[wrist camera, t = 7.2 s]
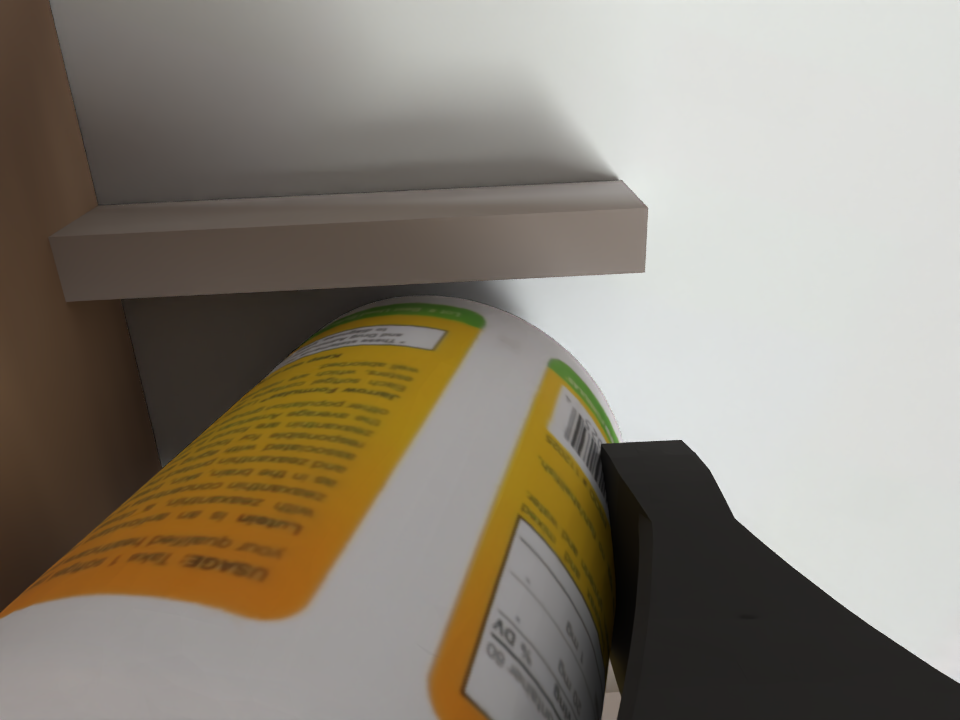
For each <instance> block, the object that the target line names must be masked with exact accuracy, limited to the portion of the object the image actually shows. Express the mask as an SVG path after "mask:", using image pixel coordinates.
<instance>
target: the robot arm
mask: <svg viewBox="0 0 960 720" xmlns="http://www.w3.org/2000/svg"><path fill="white" fill-rule="evenodd" d="M600 457H601V463H602V469H603V475H604V482H605V489H606V496H607V503H608V511H609V519H610V527H611V537H612V546H613V556H614V567H615V578H616V610H615V618H614V626H613V634H612V642H611V650H610V662H611V665H612V669H613V672H614V675H615V679H616V682H617V685H618V689H619V692H620V695H621V701H620V706H619V711H618V716H617V720H960V684H959V683H958V682H956V681H954V680H953V679H951V678H950V677H948V676H946V675H945V674H943V673H941V672H940V671H938V670H937V669H935V668H934V667H932V666H931V665H929V664H927V663H926V662H924V661H923V660H921V659H920V658H918V657H917V656H915V655H914V654H912V653H911V652H909V651H908V650H906V649H905V648H903V647H902V646H900V645H899V644H897V643H896V642H894V641H893V640H891V639H890V638H888V637H887V636H885V635H884V634H882V633H881V632H879V631H878V630H876V629H875V628H873V627H872V626H870V625H869V624H868V623H866V622H865V621H863V620H862V619H861V618H859V617H858V616H856V615H855V614H854V613H852V612H851V611H849V610H848V609H846V608H845V607H844V606H842V605H841V604H840V603H838V602H837V601H836V600H834V599H833V598H832V597H831V596H829V595H828V594H827V593H825V592H824V591H823V590H821V589H820V588H819V587H818V586H816V585H815V584H814V583H812V582H811V581H810V580H808V579H807V578H806V577H805V576H803V575H802V574H801V573H799V572H798V571H797V570H795V569H794V568H793V567H792V566H790V565H789V564H788V563H787V562H786V561H784V560H783V559H782V558H781V557H779V556H778V555H777V554H776V553H775V552H773V551H772V550H771V549H770V548H768V547H767V546H766V545H765V544H764V543H763V542H761V541H760V540H759V539H758V538H757V537H755V536H754V535H753V534H752V533H751V532H750V531H749V530H747V529H746V528H745V527H744V526H743V525H742V524H740V523H739V522H738V521H737V520H736V519H735V518H734V516H733V514H732V512H731V510H730V508H729V506H728V504H727V502H726V500H725V498H724V496H723V494H722V492H721V491H720V489H719V487H718V485H717V483H716V481H715V479H714V477H713V475H712V474H711V472H710V470H709V469H708V468H707V466H706V465H705V464H704V463H703V462H702V460H701V459H700V458H699V457H698V456H697V454H696V453H695V452H693V451H692V450H691V449H690V448H689V447H688V446H687V445H686V444H685V443H684V442H683V441H682V440H671V441H649V442H627V443H605V444H601V451H600Z"/></svg>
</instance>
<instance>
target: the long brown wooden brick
mask: <svg viewBox="0 0 960 720" xmlns="http://www.w3.org/2000/svg"><path fill="white" fill-rule="evenodd" d="M647 220H648V207H647V206H646V205H645V204H644V203H643V202H642V201H641V200H640V199H639V198H638V197H637V196H636V195H635V193H634V192H633V191H632V190H631V189H630V188H629V187H628V186H627V185H626V184H625V183H624V182H623V181H622V180H618V181H597V182H576V183H556V184H535V185H514V186H493V187H472V188H451V189H430V190H410V191H389V192H368V193H347V194H326V195H305V196H284V197H264V198H243V199H222V200H201V201H180V202H159V203H138V204H118V205H98V202H97V198H96V194H95V190H94V186H93V182H92V177H91V173H90V169H89V165H88V161H87V157H86V153H85V148H84V144H83V140H82V136H81V132H80V128H79V124H78V119H77V115H76V111H75V107H74V103H73V99H72V95H71V90H70V86H69V82H68V78H67V74H66V70H65V66H64V61H63V57H62V53H61V49H60V45H59V41H58V37H57V32H56V28H55V24H54V20H53V16H52V12H51V8H50V3H49V0H0V613H1V612H2V611H3V610H4V609H5V608H6V607H7V606H8V605H9V604H10V603H12V602H13V601H14V600H15V599H16V598H17V597H18V596H19V595H20V594H21V593H23V592H24V591H25V590H26V589H27V588H28V587H29V586H30V585H31V584H33V583H34V582H35V581H36V580H37V579H38V578H39V577H40V576H42V575H43V574H44V573H45V572H46V571H47V570H48V569H49V568H51V567H52V566H53V565H54V564H55V563H56V562H57V561H59V560H60V559H61V558H62V557H63V556H64V555H65V554H67V553H68V552H69V551H70V550H71V549H72V548H73V547H74V546H76V545H77V544H78V543H79V542H80V541H81V540H82V539H84V538H85V537H86V536H87V535H88V534H89V533H90V532H92V531H93V530H94V529H95V528H96V527H97V526H98V525H99V524H101V523H102V522H103V521H104V520H105V519H106V518H107V517H108V516H109V515H111V514H112V513H113V512H114V511H115V510H116V509H117V508H119V507H120V506H121V505H122V504H123V503H124V502H125V501H127V500H128V499H129V498H130V497H131V496H132V495H133V494H134V493H136V492H137V491H138V490H139V489H140V488H141V487H142V486H143V485H145V484H146V483H147V482H148V481H149V480H150V479H151V478H152V477H154V476H155V475H156V474H157V473H158V472H159V471H160V470H161V469H162V468H161V463H160V459H159V455H158V451H157V447H156V443H155V439H154V434H153V430H152V426H151V422H150V418H149V414H148V410H147V405H146V401H145V397H144V393H143V389H142V385H141V381H140V376H139V372H138V368H137V364H136V360H135V356H134V352H133V347H132V343H131V339H130V335H129V331H128V327H127V323H126V318H125V314H124V310H123V306H122V302H121V299H131V298H151V297H170V296H190V295H210V294H229V293H249V292H269V291H289V290H308V289H328V288H348V287H367V286H387V285H407V284H426V283H446V282H466V281H486V280H505V279H525V278H545V277H564V276H584V275H604V274H623V273H643V272H645V259H646V239H647ZM620 701H621V695H620V692H619V689H618V685H617V682H616V679H615V675H614V672H613V669H612V665H611V662H610V658H609V666H608V674H607V682H606V689H605V697H604V705H603V712H602V719H601V720H617V716H618V711H619V706H620Z"/></svg>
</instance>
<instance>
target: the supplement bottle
mask: <svg viewBox="0 0 960 720" xmlns="http://www.w3.org/2000/svg"><path fill="white" fill-rule="evenodd" d="M605 443H623V439H622V435H621V432H620V429H619V426H618V424H617V421H616V419H615V416H614V414H613V412H612V410H611V408H610V406H609V404H608V402H607V400H606V398H605V396H604V395H603V393H602V391H601V390H600V388H599V387H598V385H597V384H596V382H595V381H594V380H593V378H592V377H591V376H590V375H589V373H588V372H587V371H586V369H585V368H584V367H583V366H582V365H581V364H580V363H579V362H578V361H577V360H576V359H575V358H574V356H573V355H572V354H571V353H570V352H569V351H567V350H566V349H565V348H564V347H563V346H561V345H560V344H559V343H558V342H557V341H555V340H554V339H553V338H551V337H550V336H549V335H547V334H546V333H544V332H543V331H541V330H540V329H538V328H537V327H535V326H533V325H531V324H530V323H528V322H526V321H524V320H523V319H521V318H519V317H517V316H514V315H512V314H510V313H508V312H505V311H503V310H500V309H498V308H495V307H492V306H489V305H486V304H483V303H479V302H475V301H471V300H466V299H461V298H455V297H446V296H433V295H415V296H403V297H396V298H389V299H385V300H380V301H377V302H373V303H370V304H367V305H364V306H361V307H359V308H356V309H354V310H352V311H350V312H347V313H345V314H343V315H341V316H340V317H338V318H337V319H335V320H333V321H332V322H330V323H329V324H327V325H325V326H324V327H323V328H322V329H320V330H319V331H318V332H317V333H315V334H314V335H312V336H311V337H310V338H309V339H308V340H306V341H305V342H304V343H303V344H302V345H300V346H299V347H298V348H297V349H296V350H294V351H293V352H292V353H291V354H290V355H289V356H288V357H287V358H286V359H285V360H284V361H282V362H281V363H280V364H279V365H277V366H276V367H275V368H274V369H273V370H272V371H271V372H270V373H269V374H268V375H267V376H266V377H265V378H264V379H263V380H262V381H260V382H259V383H258V384H257V385H256V386H255V387H254V388H252V389H251V390H250V391H249V392H248V393H247V394H245V395H244V396H243V397H242V398H241V399H240V400H239V401H238V402H236V403H235V404H234V405H233V406H232V407H231V408H230V409H229V410H228V411H227V412H225V413H224V414H223V415H222V416H221V417H220V418H219V419H217V420H216V421H215V422H214V423H213V424H212V425H211V426H210V427H209V428H207V429H206V430H205V431H204V432H203V433H202V434H201V435H200V436H198V437H197V438H196V439H195V440H194V441H193V442H192V443H191V444H189V445H188V446H187V447H186V448H185V449H184V450H183V451H182V452H180V453H179V454H178V455H177V456H176V457H175V458H174V459H173V460H171V461H170V462H169V463H168V464H167V465H166V466H165V467H164V468H163V469H161V470H160V471H159V472H158V473H157V474H156V475H155V476H154V477H152V478H151V479H150V480H149V481H148V482H147V483H146V484H145V485H143V486H142V487H141V488H140V489H139V490H138V491H137V492H136V493H134V494H133V495H132V496H131V497H130V498H129V499H128V500H127V501H125V502H124V503H123V504H122V505H121V506H120V507H119V508H117V509H116V510H115V511H114V512H113V513H112V514H111V515H109V516H108V517H107V518H106V519H105V520H104V521H103V522H102V523H101V524H99V525H98V526H97V527H96V528H95V529H94V530H93V531H92V532H90V533H89V534H88V535H87V536H86V537H85V538H84V539H82V540H81V541H80V542H79V543H78V544H77V545H76V546H74V547H73V548H72V549H71V550H70V551H69V552H68V553H67V554H65V555H64V556H63V557H62V558H61V559H60V560H59V561H57V562H56V563H55V564H54V565H53V566H52V567H51V568H49V569H48V570H47V571H46V572H45V573H44V574H43V575H42V576H40V577H39V578H38V579H37V580H36V581H35V582H34V583H33V584H31V585H30V586H29V587H28V588H27V589H26V590H25V591H24V592H23V593H21V594H20V595H19V596H18V597H17V598H16V599H15V600H14V601H13V602H12V603H10V604H9V605H8V606H7V607H6V608H5V609H4V610H3V611H2V612H1V613H0V720H601V719H602V712H603V705H604V697H605V689H606V682H607V674H608V666H609V658H610V650H611V642H612V634H613V626H614V618H615V610H616V578H615V567H614V556H613V546H612V537H611V527H610V519H609V511H608V503H607V496H606V489H605V482H604V475H603V469H602V463H601V457H600V451H601V444H605Z"/></svg>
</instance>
